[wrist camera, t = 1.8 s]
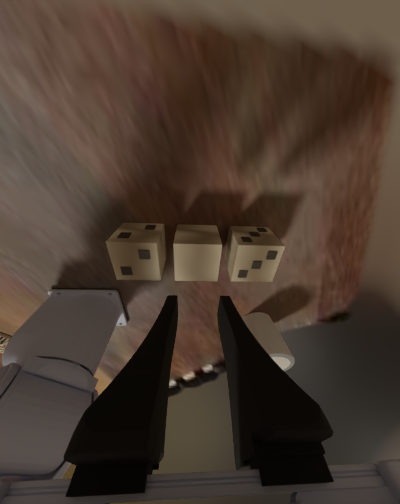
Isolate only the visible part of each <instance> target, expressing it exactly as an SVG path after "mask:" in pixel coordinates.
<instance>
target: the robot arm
mask: <svg viewBox="0 0 400 504" xmlns="http://www.w3.org/2000/svg"><path fill="white" fill-rule="evenodd" d="M48 294H49V296H50V297H49V298H48V299H47V300H46V301H45V302H44V303H43V304H42V305H41V306H40V307H39V308H38V309H37V311H36V312H35V313H34V314H33V315H32V316H31V317H30V318H29V319H28V320H27V321H26V322H25V323H24V324H23V325H22V326H21V327H20V328H19V329H18V330H17V331H16V332H15V333H14V335H13V336H12V337H11V339H10V340H9V342H8V344H7V345H6V348H5V350H4V352H3V356H2V364H3V367H1V368H0V504H108V503H123V502H138V501H157V500H173V499H191V498H208V497H224V496H241V495H259V494H275V493H292V494H291V500H290V503H286V504H400V459H392V460H383V461H378V462H375V463H373V464H353V465H332V466H327V463H326V461H325V459H324V456H323V454H325V451H324V448H323V446H322V444H321V442H322V441H324V440H326V439H328V438H330V437H331V436H332V435H333V430H332V429H331V426H330V424H329V422H328V420H327V418H326V416H325V415H324V413H323V411H322V410H321V408H320V406H319V405H318V404H317V403H316V402H315V401H314V400H313V399H312V398H311V397H310V396H309V395H308V394H306V393H305V392H304V391H303V390H302V389H301V388H300V387H299V386H298V385H297V384H296V383H295V382H294V381H293V380H292V379H291V378H290V377H289V376H288V375H287V374H286V373H285V372H284V371H283V370H282V369H281V368H280V367H279V365H278V364H277V363H276V362H275V361H274V360H273V359H272V358H271V357H270V355H269V354H268V353H267V352H266V351H265V350H264V348H263V347H262V346H261V345H260V343H259V342H258V341H257V339H256V338H255V337H254V335H253V334H252V333H251V331H250V330H249V328H248V327H247V325H246V324H245V322H244V321H243V319H242V318H241V316H240V314H239V313H238V311H237V309H236V308H235V306H234V304H233V302H232V300H231V298H230V297H229V296H220V301H219V307H218V313H217V316H218V327H219V333H220V338H221V343H222V348H223V353H224V358H225V364H226V370H227V379H228V388H229V397H230V408H231V418H232V430H233V443H234V456H235V464H236V470H233V471H212V472H192V473H173V474H152V470H158V468H159V462H160V461H161V460H162V458H163V456H164V442H165V428H166V415H167V403H168V391H169V379H170V368H171V361H172V355H173V349H174V343H175V337H176V331H177V321H178V301H177V296H175V295H169V296H167V299H166V301H165V304H164V306H163V308H162V310H161V312H160V314H159V316H158V318H157V320H156V321H155V323H154V325H153V327H152V328H151V330H150V332H149V333H148V335H147V336H146V338H145V339H144V341H143V342H142V344H141V345H140V347H139V348H138V350H137V351H136V352H135V354H134V355H133V356H132V358H131V359H130V360H129V362H128V363H127V364H126V365H125V367H124V368H123V369H122V370H121V371H120V373H119V374H118V375H117V376H116V377H115V378H114V380H113V381H112V382H111V383H110V384H109V385H108V387H107V388H106V389H105V390H104V391H103V392H102V393H101V394H100V395H99V396H98V392H97V390H95V386H96V384H97V382H98V379H96V378H94V377H93V376H94V374H95V372H96V370H97V367H98V365H99V363H100V360H101V358H102V356H103V353H104V351H105V349H106V347H107V344H108V342H109V340H110V337H111V335H112V333H113V331H114V328H115V326H125V325H127V323H128V322H127V318H126V315H125V312H124V309H123V306H122V302H121V299H120V296H119V293H118V291H116V290H70V289H51V290H49V291H48ZM71 463H72V464H74V465H77V466H76V468H75V471H74V474H73V477H72V479H62V477H63V475H64V474H65V472H66V470H67V469H68V467H69V466H70V464H71Z"/></svg>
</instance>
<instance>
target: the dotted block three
mask: <svg viewBox="0 0 400 504" xmlns="http://www.w3.org/2000/svg"><path fill="white" fill-rule="evenodd" d="M284 248H285V245H284V244H283V243H282V242H281V241H280V240H279V239H278V238H277V237H276V236H275V235H274V233H273V232H272V231H271V230H270V229H269V228H268V227H249V226H229V232H228V239H227V245H226V252H225V261H226V265H227V268H228V272H229V275H230V279H231V281H254V282H272V280H273V278H274V275H275V272H276V270H277V267H278V264H279V262H280V259H281V256H282V254H283V251H284Z"/></svg>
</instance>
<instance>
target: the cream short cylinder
mask: <svg viewBox="0 0 400 504" xmlns="http://www.w3.org/2000/svg"><path fill="white" fill-rule="evenodd" d="M242 319H243V321H244V322H245V324H246V325H247V327H248V328H249V330H250V331H251V333H252V334H253V335H254V337H255V338H256V339H257V341H258V342H259V343H260V345H261V346H262V347H263V348H264V350H265V351H266V352H267V353H268V354H269V355H270V357H271V358H272V359H273V360H274V361H275V362H276V363H277V364H278V365H279V367H280V368H281V369H282V370H283V371H286V370H288V369H290V368H291V367H292V366H293V365H294V361H295V360H294V358H293V356H292V354H291V352H290V351H289V349H288V347H287V345H286V344H285V342H284V340H283V338H282V337H281V335H280V333H279V331H278V330H277V328H276V326H275V324H274V323H273V321H272V319H271V317H270V316H269V315H268V314H266V313H263V312H255V313H250V314H248V315H246V316H244V317H243V318H242Z"/></svg>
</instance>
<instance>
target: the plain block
mask: <svg viewBox="0 0 400 504" xmlns="http://www.w3.org/2000/svg"><path fill="white" fill-rule="evenodd" d="M173 248H174V269H175V281H217V279H218V272H219V265H220V258H221V251H222V242H221V239H220V235H219V232H218V228H217V225H185V224H177V228H176V233H175V238H174V243H173Z"/></svg>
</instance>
